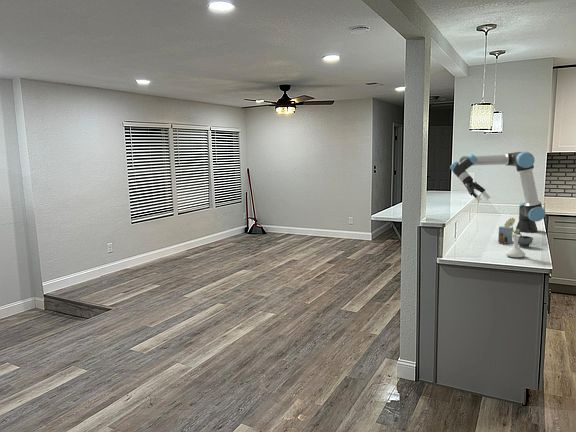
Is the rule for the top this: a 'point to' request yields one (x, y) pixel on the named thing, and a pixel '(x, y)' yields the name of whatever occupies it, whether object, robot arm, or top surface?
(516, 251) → the flower in vase
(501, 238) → the wooden drawer pull
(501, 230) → the slotted block
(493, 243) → the top surface
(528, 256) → the top surface
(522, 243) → the mortar and pestle
